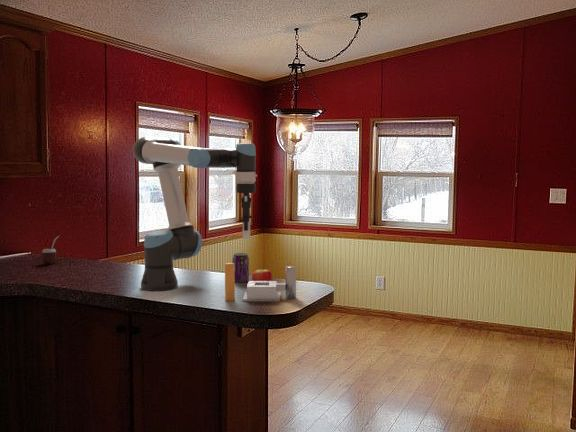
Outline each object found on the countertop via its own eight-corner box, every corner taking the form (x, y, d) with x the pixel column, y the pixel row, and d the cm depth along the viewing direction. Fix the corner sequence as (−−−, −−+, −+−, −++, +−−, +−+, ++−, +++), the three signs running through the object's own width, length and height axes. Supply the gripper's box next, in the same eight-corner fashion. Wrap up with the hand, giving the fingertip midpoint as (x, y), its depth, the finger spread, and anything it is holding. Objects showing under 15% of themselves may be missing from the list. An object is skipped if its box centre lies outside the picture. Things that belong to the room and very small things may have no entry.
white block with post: (242, 301, 225) (242, 269, 224) (245, 294, 237) (244, 264, 236) (296, 301, 225) (296, 269, 224) (295, 294, 237) (295, 264, 236)
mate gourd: (40, 264, 310) (38, 235, 309) (55, 262, 315) (54, 234, 314) (45, 266, 304) (44, 236, 303) (61, 264, 310) (60, 235, 308)
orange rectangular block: (224, 301, 226) (224, 264, 224) (225, 299, 229) (225, 262, 228) (234, 301, 226) (233, 264, 224) (235, 299, 229) (234, 262, 228)
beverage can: (246, 283, 260) (246, 255, 259) (230, 282, 262) (230, 255, 261) (250, 279, 267) (250, 253, 266) (235, 279, 268) (235, 252, 267)
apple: (264, 290, 245) (264, 266, 244) (247, 288, 249) (247, 264, 248) (275, 287, 252) (275, 263, 251) (259, 285, 256) (259, 261, 255)
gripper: (255, 184, 223) (255, 240, 225) (256, 181, 248) (256, 232, 250) (235, 184, 223) (235, 240, 225) (237, 181, 248) (238, 233, 250)
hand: (246, 236), depth 237 cm, fingers open, 13 cm apart
